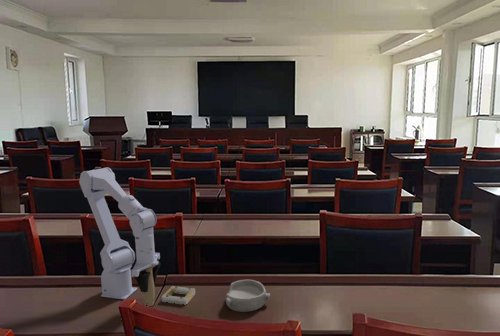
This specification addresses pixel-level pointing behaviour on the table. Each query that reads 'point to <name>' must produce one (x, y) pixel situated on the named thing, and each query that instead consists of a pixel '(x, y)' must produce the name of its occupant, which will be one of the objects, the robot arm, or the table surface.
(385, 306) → the table surface
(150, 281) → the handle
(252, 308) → the dish
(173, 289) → the square frame
